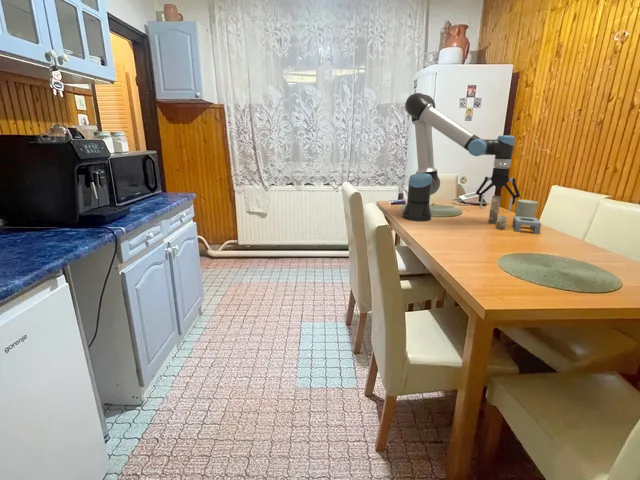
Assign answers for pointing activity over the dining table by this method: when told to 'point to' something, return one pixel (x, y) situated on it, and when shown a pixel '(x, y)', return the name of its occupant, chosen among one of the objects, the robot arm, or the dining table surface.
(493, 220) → the long dowel
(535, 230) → the square frame with posts
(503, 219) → the short dowel
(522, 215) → the can
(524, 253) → the dining table surface
